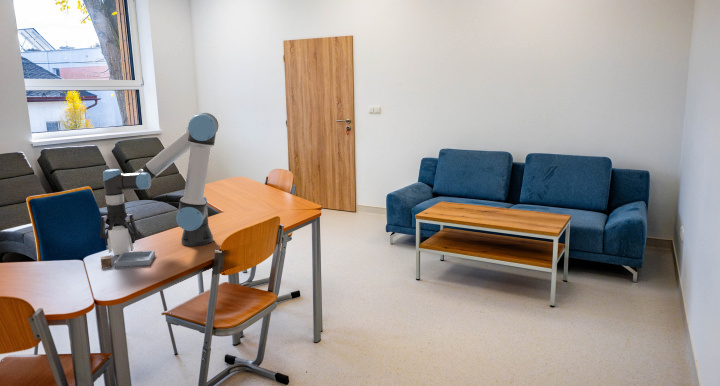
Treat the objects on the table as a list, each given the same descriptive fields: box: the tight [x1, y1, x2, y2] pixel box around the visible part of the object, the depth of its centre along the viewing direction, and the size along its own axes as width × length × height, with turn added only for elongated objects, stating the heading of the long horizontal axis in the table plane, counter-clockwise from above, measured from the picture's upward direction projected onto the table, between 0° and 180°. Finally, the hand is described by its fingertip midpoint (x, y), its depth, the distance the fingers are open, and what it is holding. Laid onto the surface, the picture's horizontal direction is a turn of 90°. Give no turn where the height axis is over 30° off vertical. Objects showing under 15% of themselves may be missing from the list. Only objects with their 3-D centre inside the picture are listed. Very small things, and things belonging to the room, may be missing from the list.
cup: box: [107, 224, 130, 256], centre depth 230 cm, size 9×9×12 cm
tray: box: [113, 249, 156, 269], centre depth 220 cm, size 14×14×2 cm
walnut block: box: [100, 255, 113, 269], centre depth 215 cm, size 4×4×4 cm
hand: (121, 250), depth 231 cm, fingers closed on cup, 9 cm apart
